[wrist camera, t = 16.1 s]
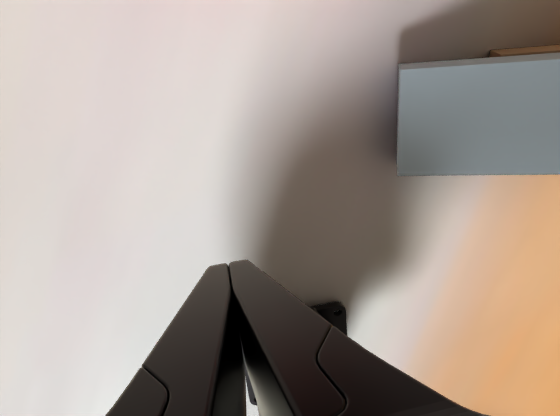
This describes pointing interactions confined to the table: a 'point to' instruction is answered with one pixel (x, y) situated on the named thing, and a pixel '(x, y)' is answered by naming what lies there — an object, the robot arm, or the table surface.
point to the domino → (479, 116)
